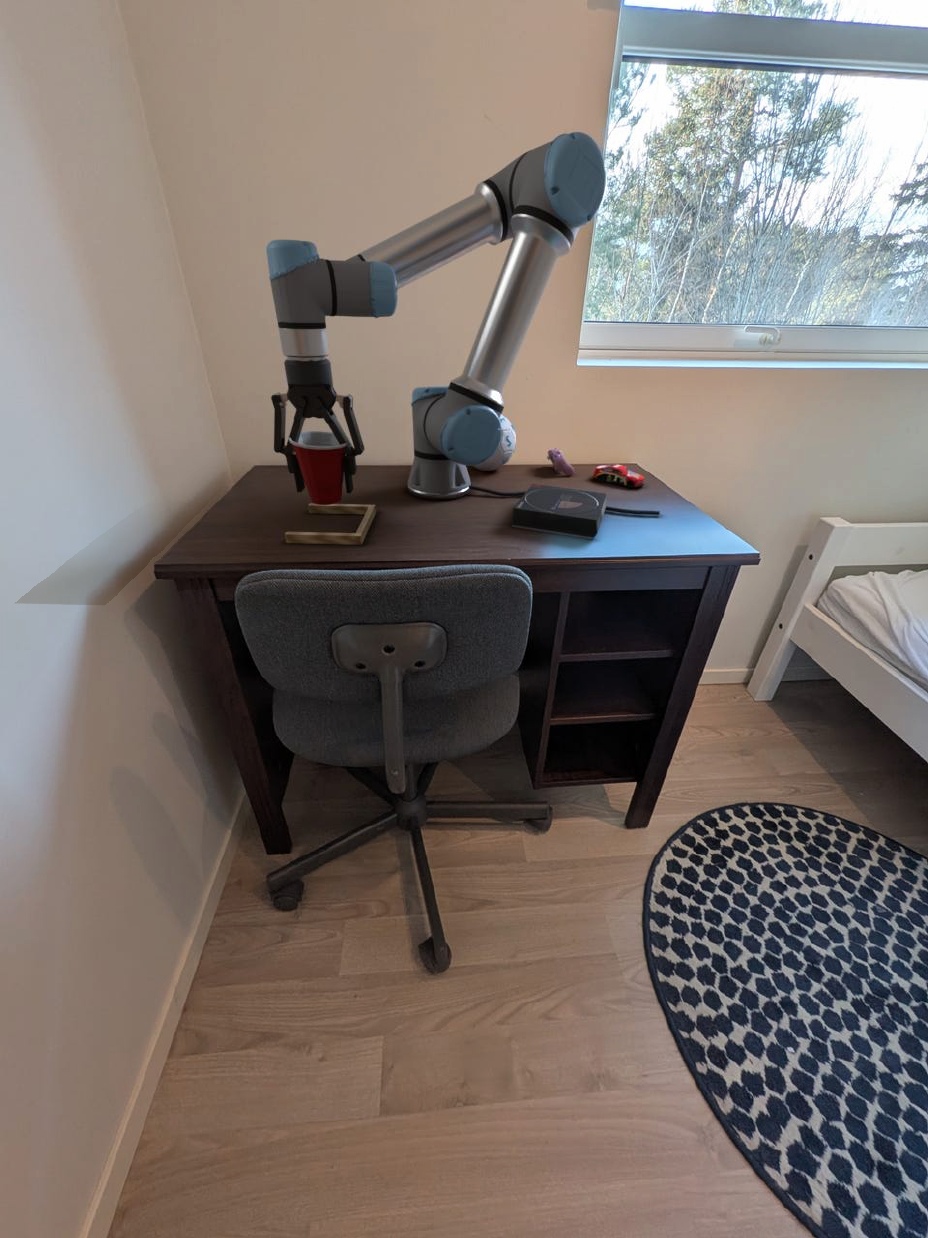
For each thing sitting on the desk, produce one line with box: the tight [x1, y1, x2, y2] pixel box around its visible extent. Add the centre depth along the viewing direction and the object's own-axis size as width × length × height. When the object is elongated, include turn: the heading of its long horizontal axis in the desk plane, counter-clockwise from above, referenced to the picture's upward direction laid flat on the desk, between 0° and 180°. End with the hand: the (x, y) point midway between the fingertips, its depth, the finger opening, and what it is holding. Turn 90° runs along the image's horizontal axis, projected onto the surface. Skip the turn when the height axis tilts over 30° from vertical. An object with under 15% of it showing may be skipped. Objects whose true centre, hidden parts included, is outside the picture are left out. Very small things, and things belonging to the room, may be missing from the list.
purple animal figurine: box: [546, 447, 575, 476], centre depth 130 cm, size 10×5×7 cm, turn 5°
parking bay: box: [284, 502, 377, 546], centre depth 96 cm, size 14×16×2 cm
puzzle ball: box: [472, 413, 517, 472], centre depth 127 cm, size 15×15×15 cm
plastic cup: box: [287, 430, 351, 505], centre depth 90 cm, size 11×11×12 cm
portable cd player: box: [511, 483, 608, 540], centre depth 101 cm, size 16×17×4 cm
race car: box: [593, 463, 646, 489], centre depth 122 cm, size 13×5×4 cm, turn 50°
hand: (325, 490), depth 92 cm, fingers closed on plastic cup, 9 cm apart
